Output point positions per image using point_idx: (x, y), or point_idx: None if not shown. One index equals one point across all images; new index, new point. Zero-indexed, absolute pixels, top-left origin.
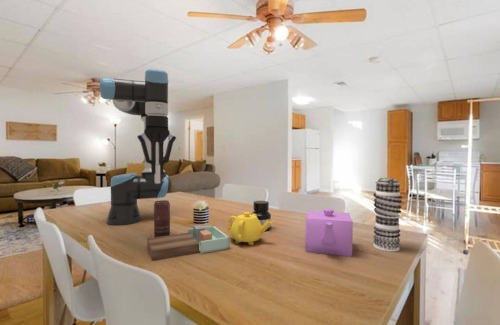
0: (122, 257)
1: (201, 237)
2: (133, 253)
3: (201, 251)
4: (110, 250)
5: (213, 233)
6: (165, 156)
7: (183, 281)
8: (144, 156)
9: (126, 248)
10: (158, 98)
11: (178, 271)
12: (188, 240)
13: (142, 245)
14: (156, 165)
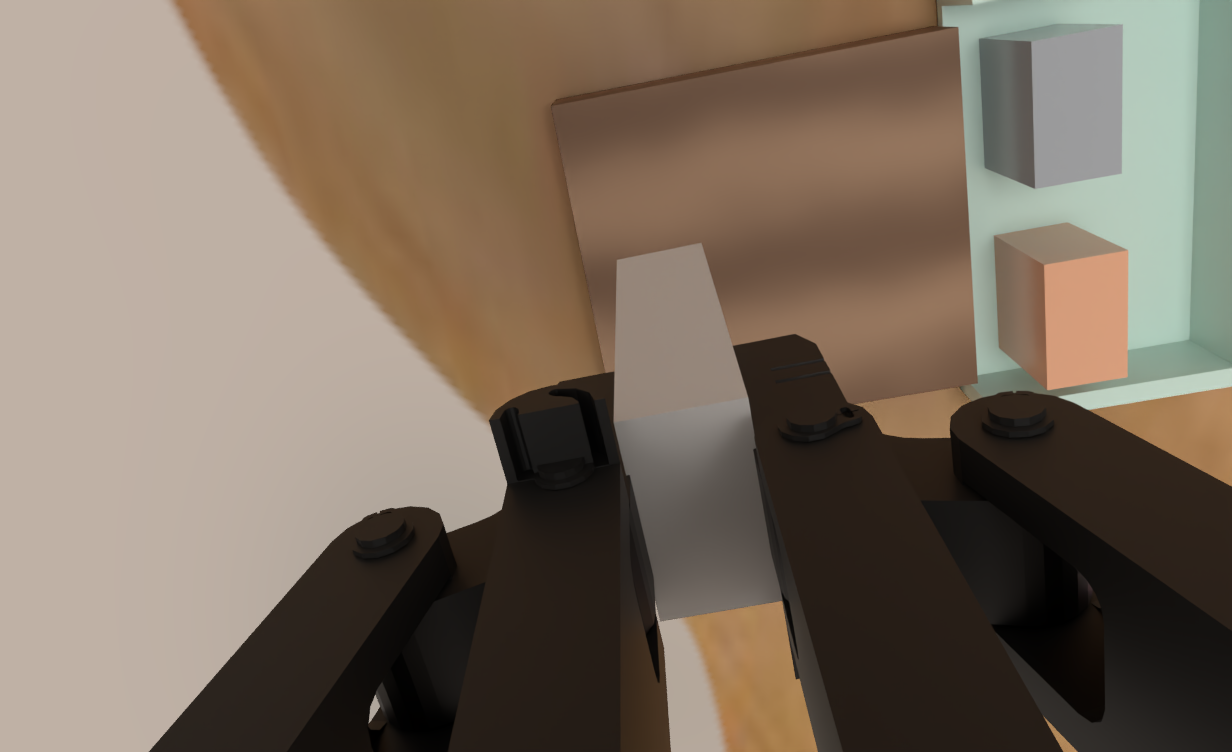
0: (400, 298)
1: (1027, 312)
2: (464, 238)
3: (968, 395)
4: (261, 112)
5: (1213, 3)
6: (1079, 557)
7: (785, 707)
8: (241, 687)
9: (383, 99)
10: None
11: (772, 602)
12: (909, 280)
13: (508, 57)
14: (680, 609)
